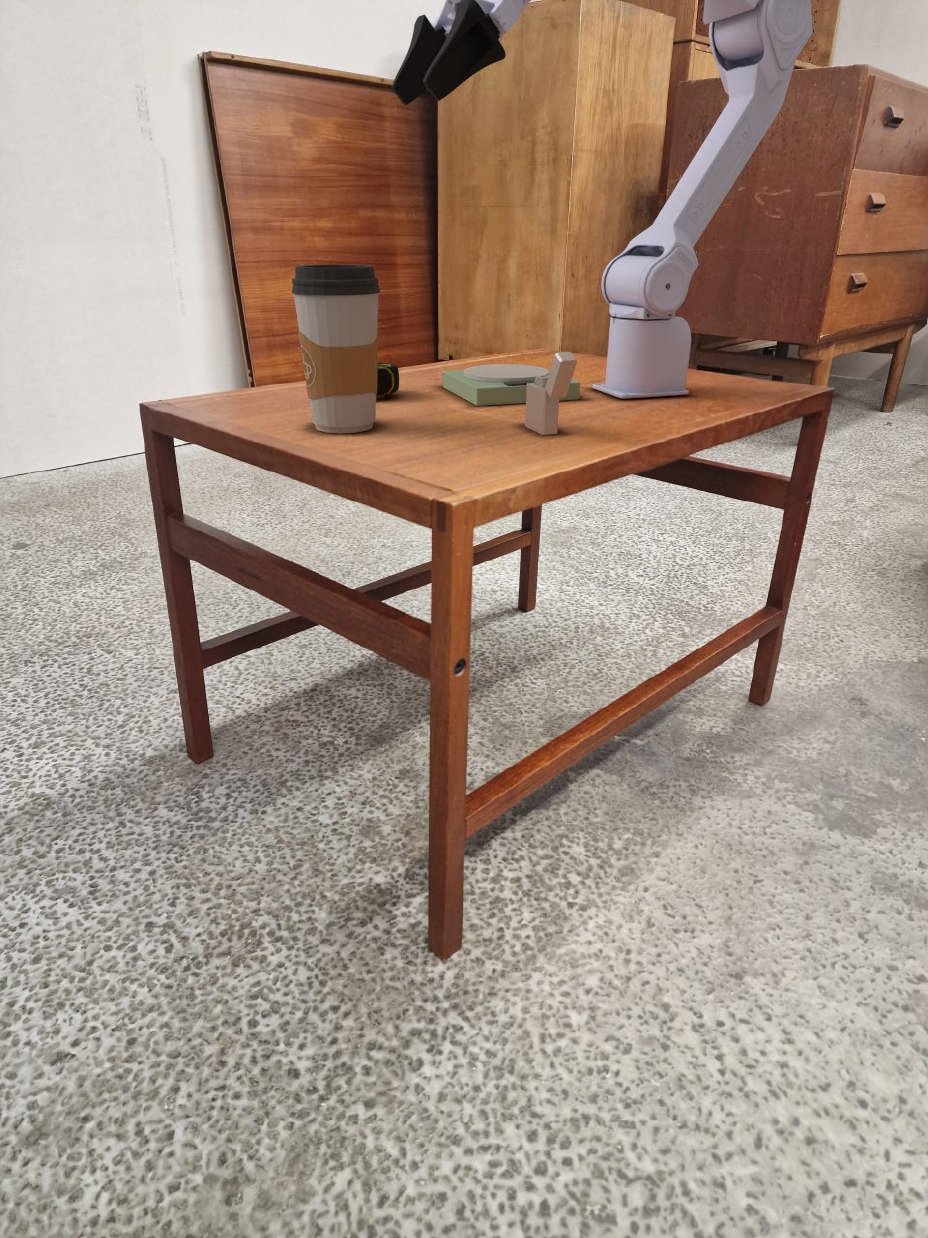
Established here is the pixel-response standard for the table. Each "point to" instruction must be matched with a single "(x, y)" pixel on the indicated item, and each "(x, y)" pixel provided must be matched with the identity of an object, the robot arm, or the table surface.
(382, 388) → the tape measure
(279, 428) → the table surface
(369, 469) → the table surface
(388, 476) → the table surface
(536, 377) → the lighter
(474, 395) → the scale
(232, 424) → the table surface
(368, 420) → the coffee cup
